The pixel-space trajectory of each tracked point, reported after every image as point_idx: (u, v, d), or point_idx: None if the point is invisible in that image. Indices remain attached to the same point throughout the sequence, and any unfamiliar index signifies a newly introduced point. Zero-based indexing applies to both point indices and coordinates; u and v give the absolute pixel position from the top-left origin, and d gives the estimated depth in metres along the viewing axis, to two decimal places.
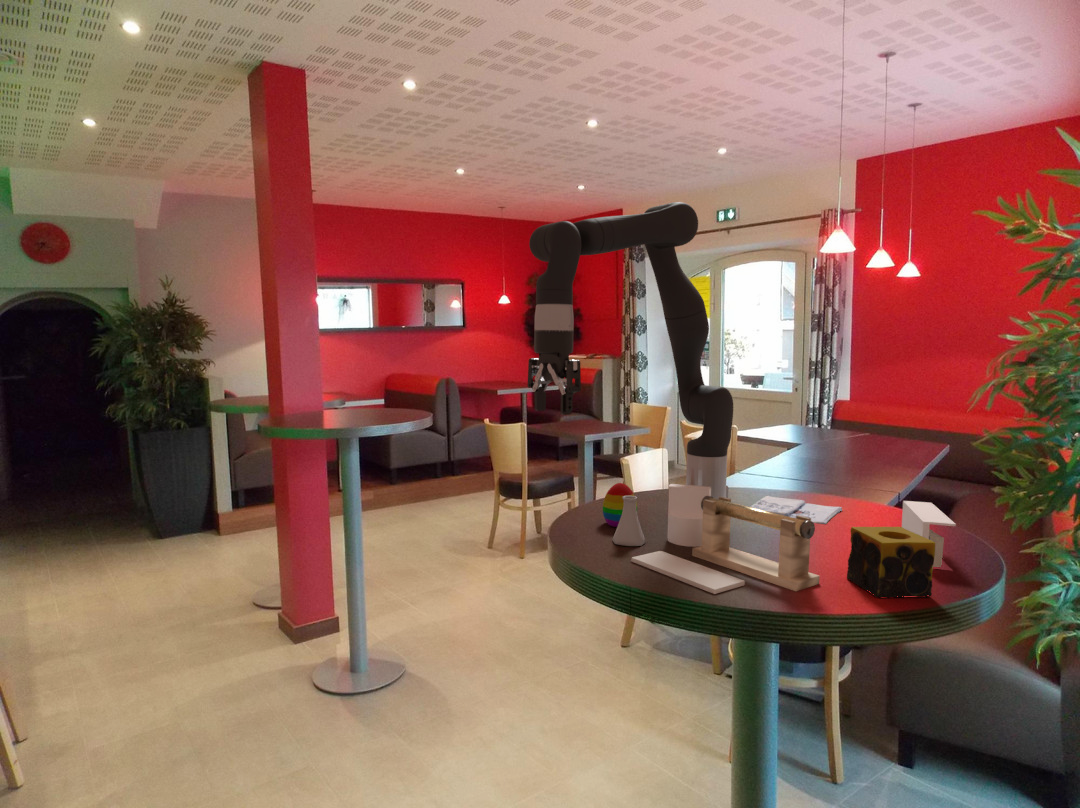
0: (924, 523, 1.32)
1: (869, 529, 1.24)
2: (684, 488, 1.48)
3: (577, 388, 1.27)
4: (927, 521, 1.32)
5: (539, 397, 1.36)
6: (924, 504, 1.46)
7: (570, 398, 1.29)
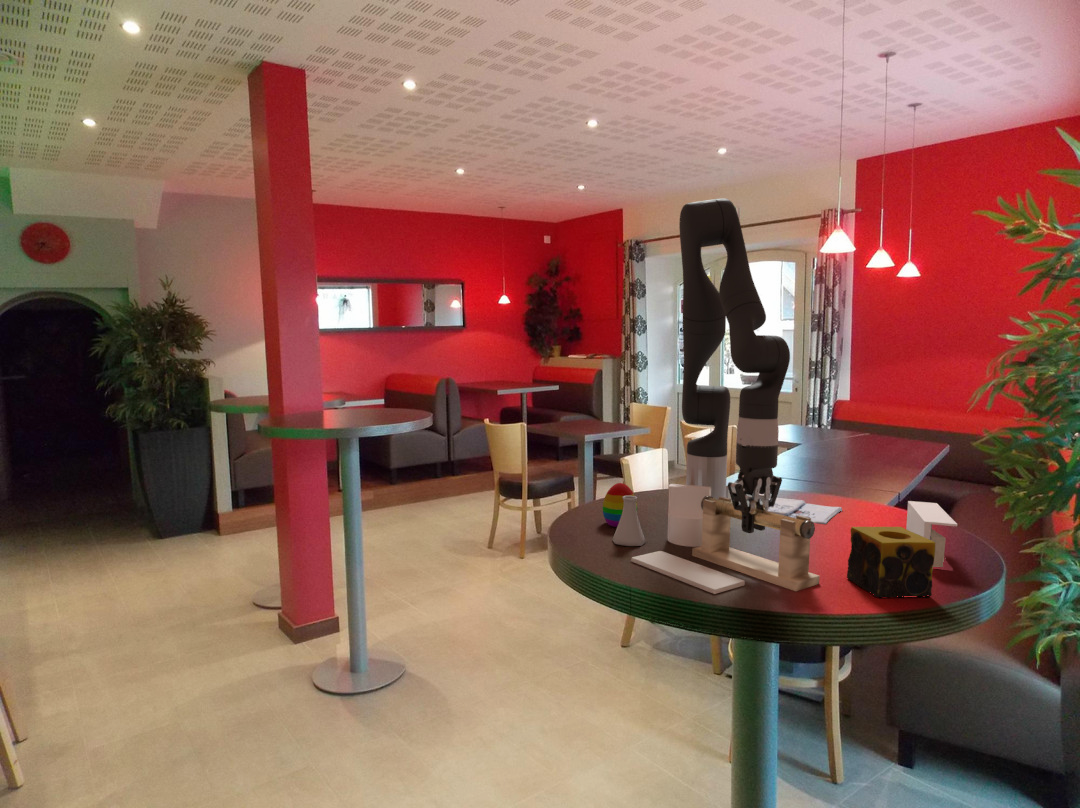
0: (925, 523, 1.32)
1: (869, 529, 1.24)
2: (684, 488, 1.48)
3: None
4: (928, 521, 1.32)
5: None
6: (929, 504, 1.46)
7: None
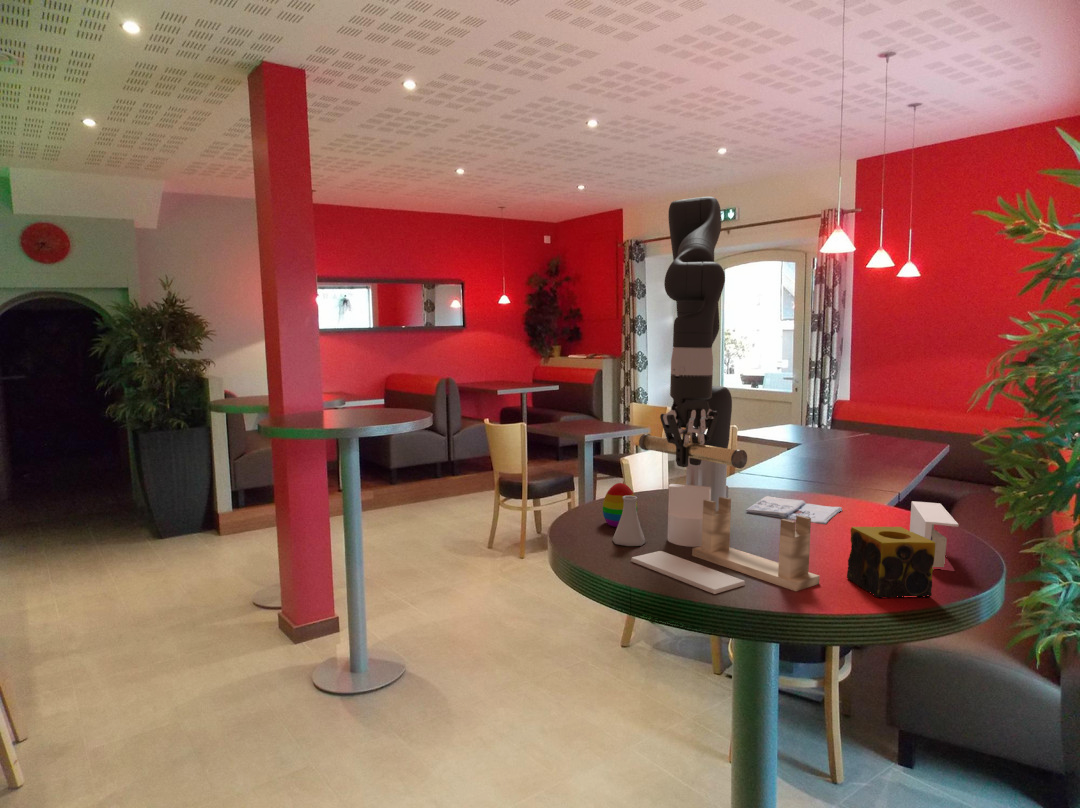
0: (926, 523, 1.32)
1: (869, 529, 1.24)
2: (684, 488, 1.48)
3: None
4: (929, 521, 1.32)
5: None
6: (932, 505, 1.46)
7: None
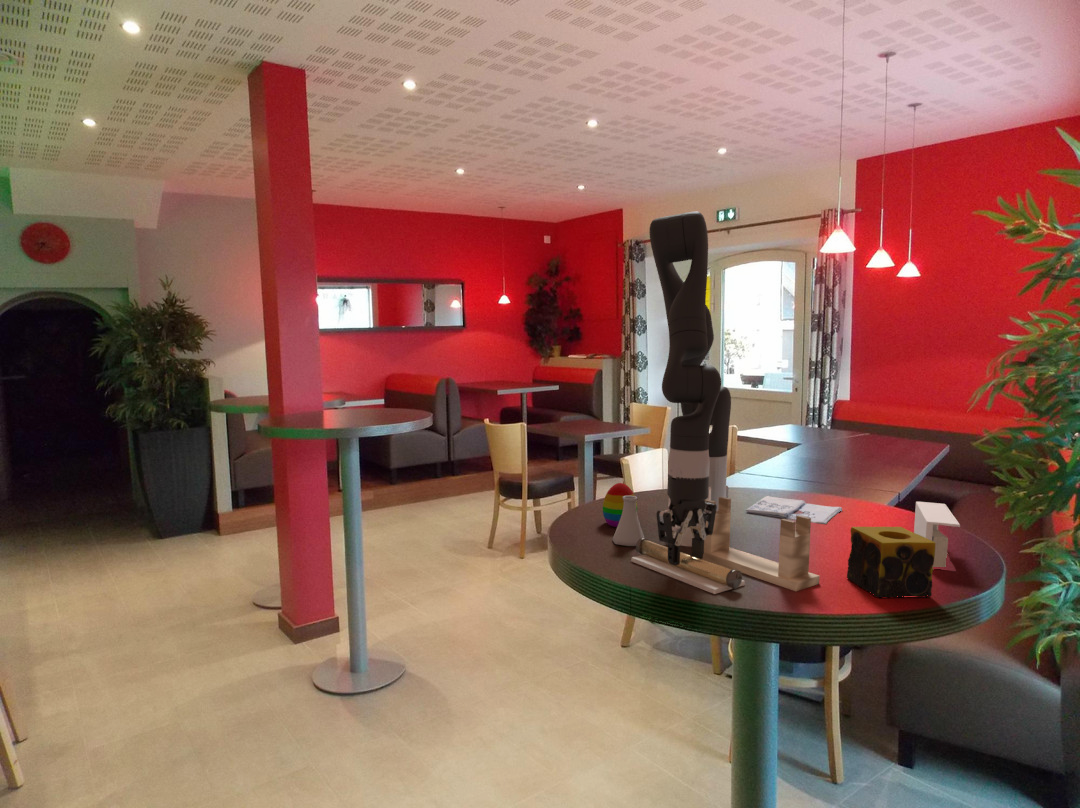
0: (927, 523, 1.32)
1: (869, 529, 1.24)
2: None
3: None
4: (930, 521, 1.32)
5: None
6: (936, 505, 1.45)
7: None
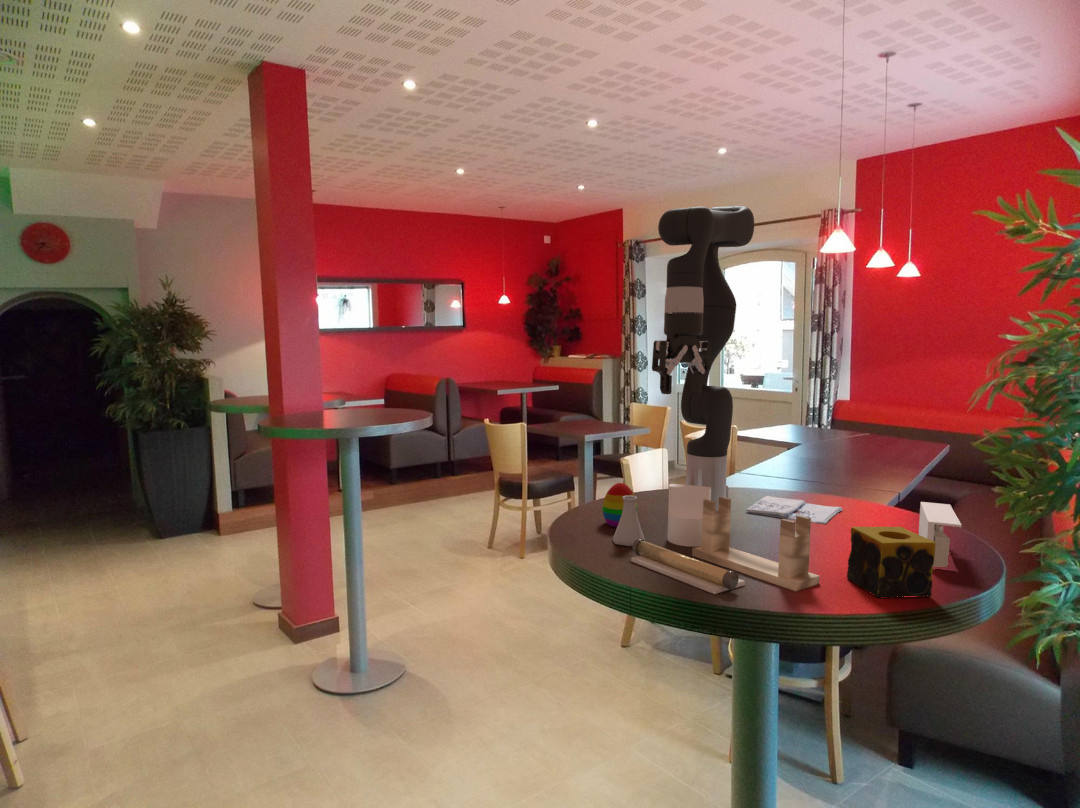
0: (929, 523, 1.32)
1: (869, 529, 1.24)
2: (684, 488, 1.48)
3: None
4: (932, 521, 1.32)
5: None
6: (941, 505, 1.45)
7: None
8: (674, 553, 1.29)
